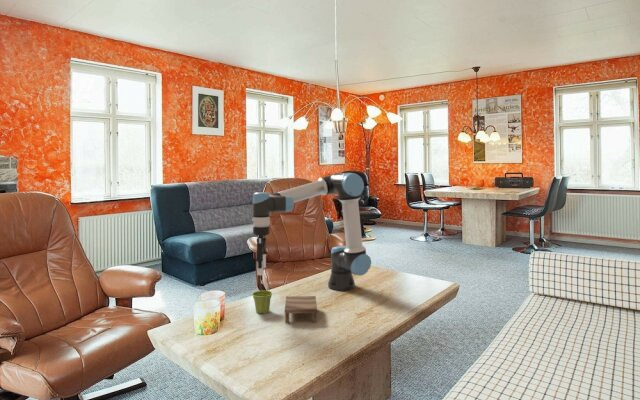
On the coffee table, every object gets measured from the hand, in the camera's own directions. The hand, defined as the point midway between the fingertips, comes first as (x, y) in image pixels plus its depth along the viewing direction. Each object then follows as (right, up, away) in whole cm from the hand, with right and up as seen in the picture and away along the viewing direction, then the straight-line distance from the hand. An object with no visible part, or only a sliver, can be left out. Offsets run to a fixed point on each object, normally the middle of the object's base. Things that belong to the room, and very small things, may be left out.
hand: (261, 271), depth 186 cm
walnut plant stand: (+18, -19, -3) cm, 27 cm away
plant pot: (0, -19, +2) cm, 19 cm away
